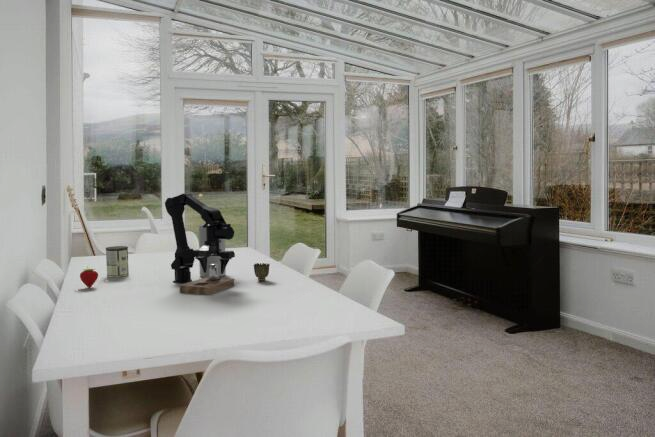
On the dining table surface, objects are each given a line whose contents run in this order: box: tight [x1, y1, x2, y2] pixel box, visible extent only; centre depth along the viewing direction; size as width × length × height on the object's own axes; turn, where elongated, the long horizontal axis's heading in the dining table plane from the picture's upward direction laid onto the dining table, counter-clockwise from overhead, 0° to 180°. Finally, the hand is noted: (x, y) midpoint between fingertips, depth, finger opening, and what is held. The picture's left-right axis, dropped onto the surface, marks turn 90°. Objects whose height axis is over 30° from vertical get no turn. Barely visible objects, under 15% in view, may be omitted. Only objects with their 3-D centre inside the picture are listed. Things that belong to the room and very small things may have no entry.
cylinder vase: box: [198, 223, 227, 278], centre depth 269 cm, size 12×12×25 cm
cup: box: [253, 262, 270, 282], centre depth 256 cm, size 8×7×8 cm
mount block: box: [179, 277, 235, 296], centre depth 238 cm, size 14×21×3 cm, turn 160°
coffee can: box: [105, 245, 129, 278], centre depth 271 cm, size 10×10×14 cm
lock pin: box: [209, 264, 219, 281], centre depth 243 cm, size 4×4×10 cm
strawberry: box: [79, 265, 99, 288], centre depth 241 cm, size 6×8×10 cm
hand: (213, 273), depth 242 cm, fingers open, 8 cm apart
